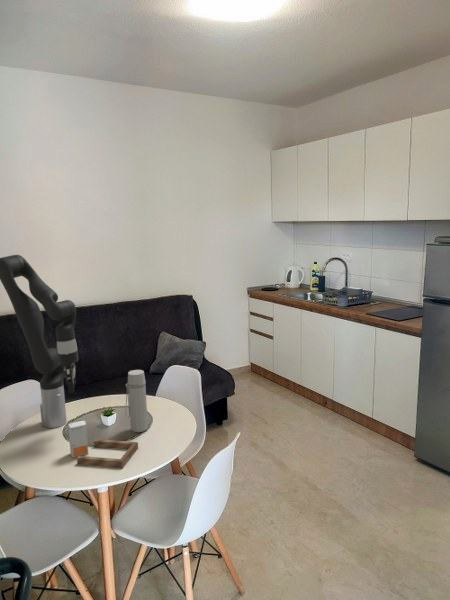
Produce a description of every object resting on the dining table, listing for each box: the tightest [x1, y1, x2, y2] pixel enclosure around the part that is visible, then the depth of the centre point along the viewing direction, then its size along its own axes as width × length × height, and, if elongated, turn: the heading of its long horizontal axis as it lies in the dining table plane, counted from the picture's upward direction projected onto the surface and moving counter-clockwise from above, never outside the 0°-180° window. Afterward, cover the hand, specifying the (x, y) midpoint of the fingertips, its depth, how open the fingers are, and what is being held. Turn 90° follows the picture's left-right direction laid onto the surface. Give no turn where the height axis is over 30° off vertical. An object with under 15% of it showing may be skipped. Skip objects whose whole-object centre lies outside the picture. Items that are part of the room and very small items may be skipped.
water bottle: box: [124, 369, 149, 433], centre depth 178 cm, size 9×8×25 cm
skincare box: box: [67, 420, 89, 459], centre depth 160 cm, size 6×4×12 cm
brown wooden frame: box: [76, 438, 139, 469], centre depth 159 cm, size 18×14×2 cm
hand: (72, 388), depth 174 cm, fingers open, 8 cm apart
